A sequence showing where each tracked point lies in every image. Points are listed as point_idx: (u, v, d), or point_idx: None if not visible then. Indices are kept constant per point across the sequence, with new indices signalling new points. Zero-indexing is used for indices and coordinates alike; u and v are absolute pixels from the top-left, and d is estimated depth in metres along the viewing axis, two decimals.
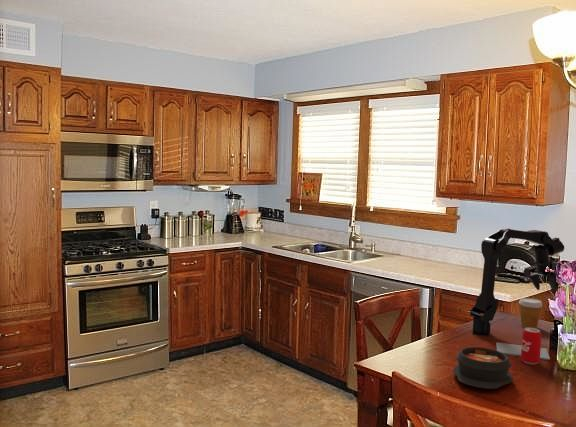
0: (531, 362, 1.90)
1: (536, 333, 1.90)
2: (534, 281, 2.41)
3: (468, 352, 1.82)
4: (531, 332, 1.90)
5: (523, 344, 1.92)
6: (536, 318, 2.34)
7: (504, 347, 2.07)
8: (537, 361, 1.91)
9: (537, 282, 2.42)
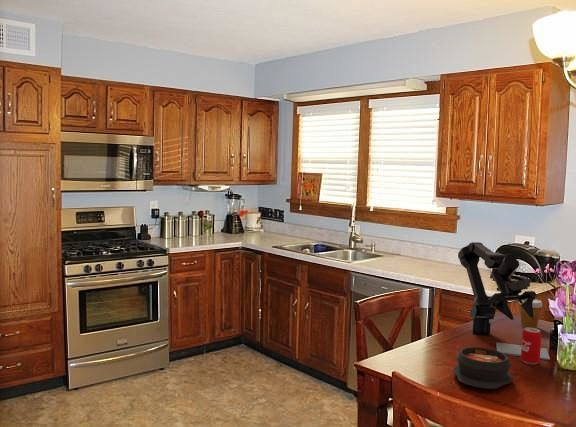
0: (531, 362, 1.90)
1: (536, 333, 1.90)
2: (525, 309, 2.05)
3: (468, 352, 1.82)
4: (531, 332, 1.90)
5: (523, 344, 1.92)
6: (536, 318, 2.34)
7: (504, 347, 2.07)
8: (537, 361, 1.91)
9: (528, 309, 2.04)
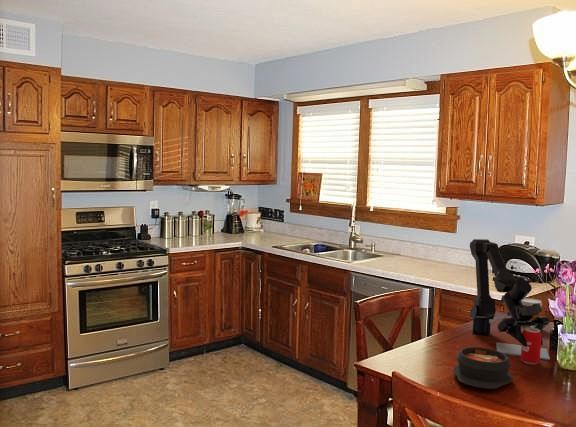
0: (531, 362, 1.90)
1: (536, 333, 1.90)
2: None
3: (468, 352, 1.82)
4: (531, 332, 1.90)
5: None
6: None
7: (504, 347, 2.07)
8: (537, 361, 1.91)
9: None
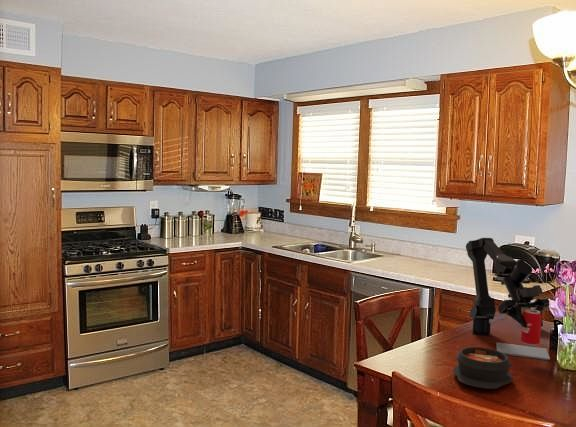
0: (531, 343, 1.91)
1: (536, 314, 1.90)
2: None
3: (468, 352, 1.82)
4: (531, 313, 1.91)
5: None
6: None
7: (504, 347, 2.07)
8: (537, 342, 1.91)
9: None
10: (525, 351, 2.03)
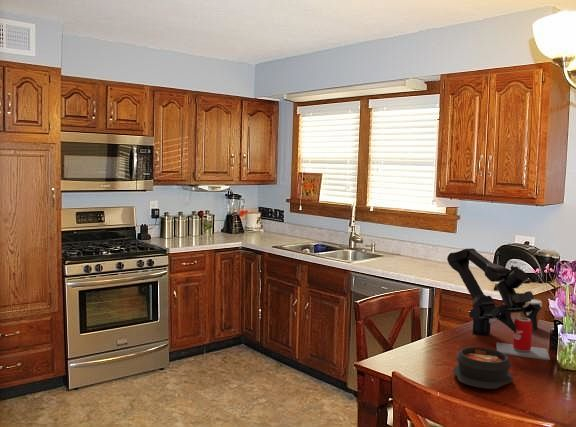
0: (523, 349, 2.02)
1: (527, 322, 2.01)
2: None
3: (468, 352, 1.82)
4: (522, 321, 2.01)
5: (515, 333, 2.03)
6: None
7: (504, 347, 2.07)
8: (528, 348, 2.02)
9: (532, 321, 2.06)
10: None
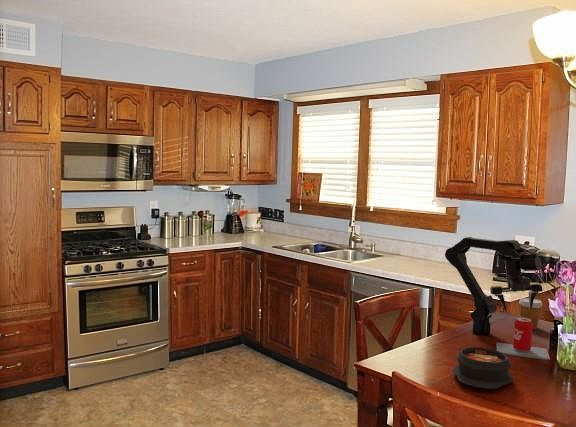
0: (523, 350, 2.02)
1: (527, 322, 2.01)
2: (529, 298, 2.15)
3: (468, 352, 1.82)
4: (523, 321, 2.01)
5: (515, 333, 2.03)
6: (536, 318, 2.34)
7: (504, 347, 2.07)
8: (528, 349, 2.02)
9: (529, 301, 2.14)
10: None
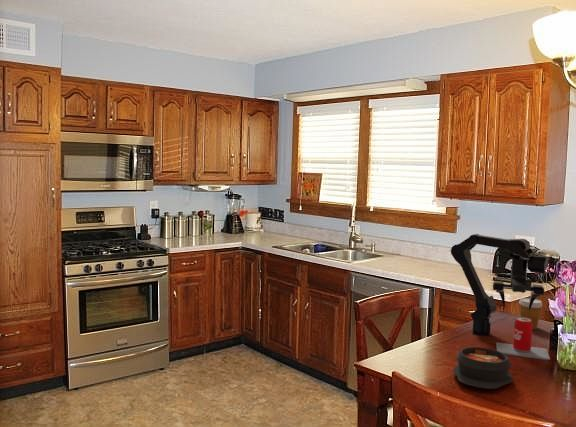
0: (523, 350, 2.02)
1: (527, 322, 2.01)
2: (530, 298, 2.16)
3: (468, 352, 1.82)
4: (523, 321, 2.01)
5: (515, 333, 2.03)
6: (536, 318, 2.34)
7: (504, 347, 2.07)
8: (528, 349, 2.02)
9: (529, 301, 2.15)
10: None
